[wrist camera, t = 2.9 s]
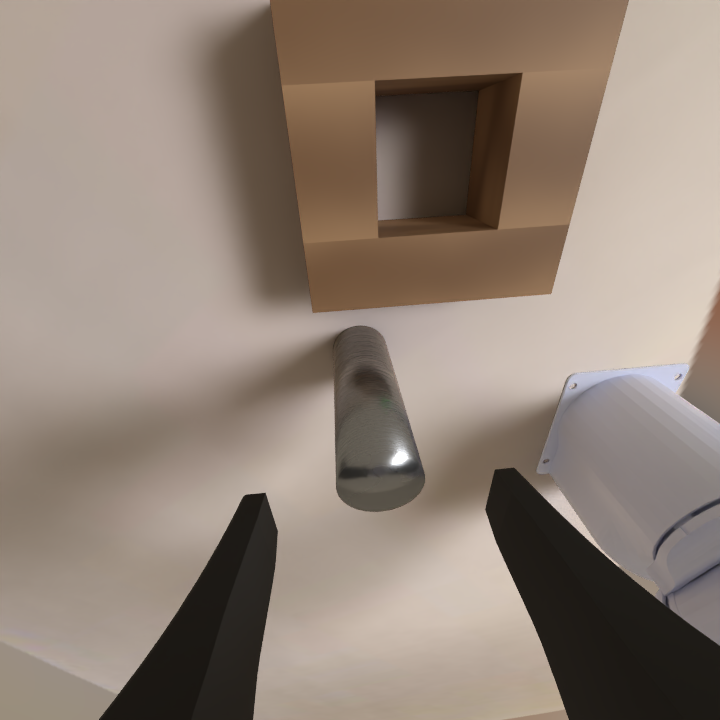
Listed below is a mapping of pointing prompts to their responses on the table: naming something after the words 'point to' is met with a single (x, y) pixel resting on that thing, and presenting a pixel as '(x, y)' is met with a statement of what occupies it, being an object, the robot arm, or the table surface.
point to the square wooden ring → (490, 147)
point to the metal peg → (371, 426)
